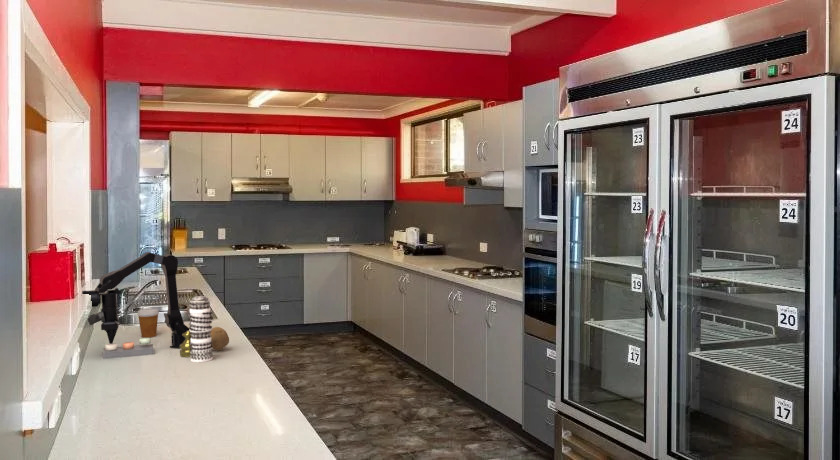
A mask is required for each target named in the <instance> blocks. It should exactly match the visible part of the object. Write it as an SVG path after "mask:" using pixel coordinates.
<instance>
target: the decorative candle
mask: <svg viewBox="0 0 840 460" xmlns="http://www.w3.org/2000/svg"><path fill="white" fill-rule="evenodd" d="M210 301H211V299H209V298H208V297H207V296H206V295H197V296H193V297H192V298H191V299H190V300H189V301H188V302H189V313H188V314H187V316H188V321H189V322H188V325H189V326H188V328H189V331H190V332H191V343H190V345H191V347H190V349H192V350H191V351H190V353H191V356H190V357H189V358H190V361H191V362H193V363H205V362H209V361H212V360H213V359H214V357H213V352H214V351H213V350H214V349H213V348H212V345H211V344H212V341H211V330H212V328H213V325H211V324H212V323H213V321H212V319H213V317H212V316H211V315H212V314H213V312H212V311H211V303H210Z"/></svg>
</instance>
